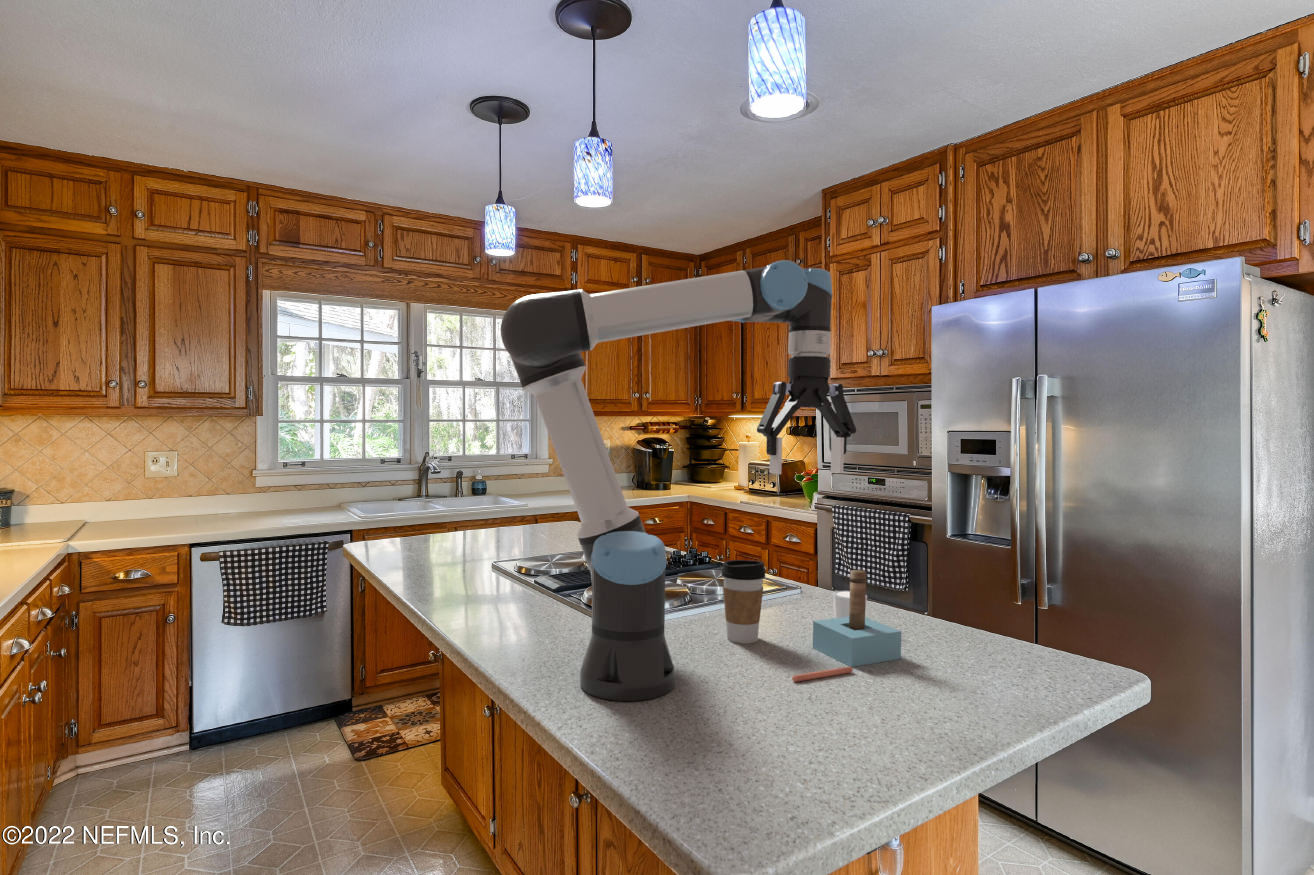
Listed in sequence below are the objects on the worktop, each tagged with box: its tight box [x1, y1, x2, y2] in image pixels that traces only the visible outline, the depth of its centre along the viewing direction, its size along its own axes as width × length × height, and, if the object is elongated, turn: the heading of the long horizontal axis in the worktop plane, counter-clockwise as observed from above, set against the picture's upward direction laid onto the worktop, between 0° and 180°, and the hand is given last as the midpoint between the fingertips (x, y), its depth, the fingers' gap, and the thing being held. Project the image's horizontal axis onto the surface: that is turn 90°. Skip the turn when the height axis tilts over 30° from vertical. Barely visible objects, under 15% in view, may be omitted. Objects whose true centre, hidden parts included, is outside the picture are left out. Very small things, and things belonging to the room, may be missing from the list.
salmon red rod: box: [791, 666, 854, 683], centre depth 118 cm, size 12×1×1 cm, turn 114°
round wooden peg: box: [849, 569, 867, 630], centre depth 130 cm, size 3×3×15 cm
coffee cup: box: [720, 559, 766, 644], centre depth 138 cm, size 8×8×15 cm
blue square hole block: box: [812, 616, 902, 668], centre depth 130 cm, size 11×11×5 cm
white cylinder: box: [832, 590, 868, 618], centre depth 146 cm, size 7×7×7 cm
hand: (806, 473), depth 131 cm, fingers open, 13 cm apart
